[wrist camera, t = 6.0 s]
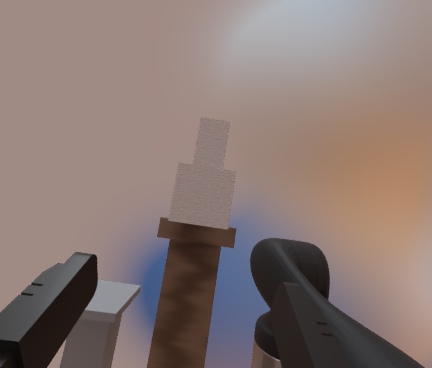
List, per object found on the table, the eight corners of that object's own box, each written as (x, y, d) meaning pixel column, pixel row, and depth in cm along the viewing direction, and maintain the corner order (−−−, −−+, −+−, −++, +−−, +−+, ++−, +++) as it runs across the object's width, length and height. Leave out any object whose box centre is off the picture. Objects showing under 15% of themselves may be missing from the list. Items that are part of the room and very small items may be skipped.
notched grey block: (212, 224, 31) (226, 133, 33) (227, 229, 14) (252, 47, 17) (185, 220, 31) (200, 129, 33) (168, 220, 14) (201, 38, 17)
